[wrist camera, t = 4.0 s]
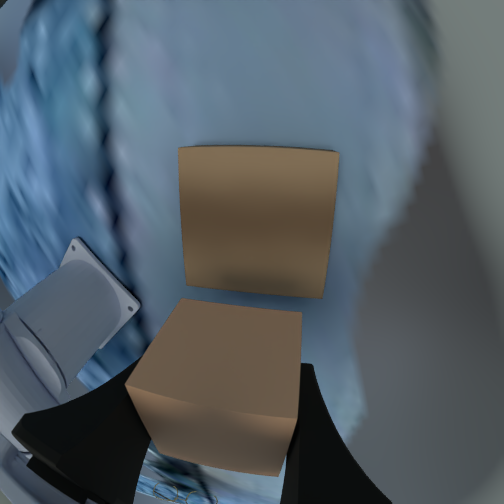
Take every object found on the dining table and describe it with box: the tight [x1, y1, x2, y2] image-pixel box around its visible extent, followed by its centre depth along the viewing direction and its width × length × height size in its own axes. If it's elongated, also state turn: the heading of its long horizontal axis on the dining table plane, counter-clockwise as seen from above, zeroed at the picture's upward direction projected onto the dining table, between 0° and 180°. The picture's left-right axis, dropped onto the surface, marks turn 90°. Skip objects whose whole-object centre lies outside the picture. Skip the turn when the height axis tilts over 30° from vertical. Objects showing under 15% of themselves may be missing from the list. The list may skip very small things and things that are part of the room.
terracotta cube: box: [125, 298, 302, 477], centre depth 10 cm, size 5×5×5 cm
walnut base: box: [178, 145, 339, 299], centre depth 16 cm, size 8×8×3 cm
